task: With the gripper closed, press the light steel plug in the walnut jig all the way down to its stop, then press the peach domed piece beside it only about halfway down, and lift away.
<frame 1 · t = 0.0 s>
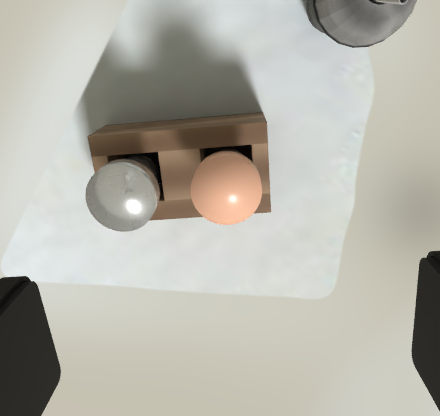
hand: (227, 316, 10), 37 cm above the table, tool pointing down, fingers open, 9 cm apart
peach domed piece: (227, 178, 39), point 8 cm above the table, slide at 0.0 cm
walnut jig: (188, 159, 47), on the table
steel plug: (130, 185, 39), point 8 cm above the table, slide at 0.0 cm
beverage cup: (329, 7, 41), on the table
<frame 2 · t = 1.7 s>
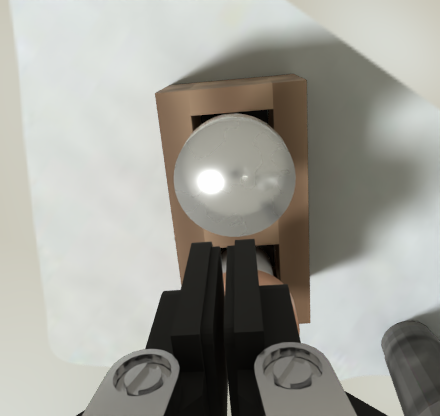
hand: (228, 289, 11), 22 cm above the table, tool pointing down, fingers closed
peach domed piece: (245, 296, 27), point 8 cm above the table, slide at 0.0 cm
walnut jig: (239, 190, 34), on the table
steel plug: (234, 162, 24), point 8 cm above the table, slide at 0.0 cm
beverage cup: (405, 340, 38), on the table
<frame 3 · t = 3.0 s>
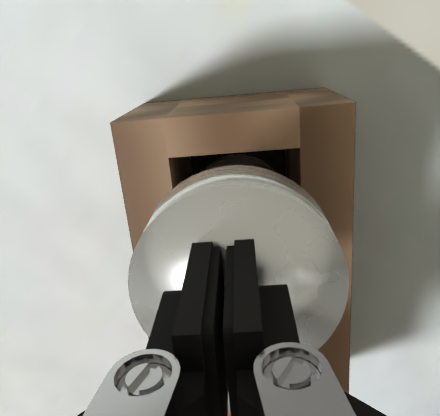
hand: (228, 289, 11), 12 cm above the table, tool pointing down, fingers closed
walnut jig: (244, 248, 24), on the table
steel plug: (238, 234, 15), point 8 cm above the table, slide at 0.3 cm, touching gripper
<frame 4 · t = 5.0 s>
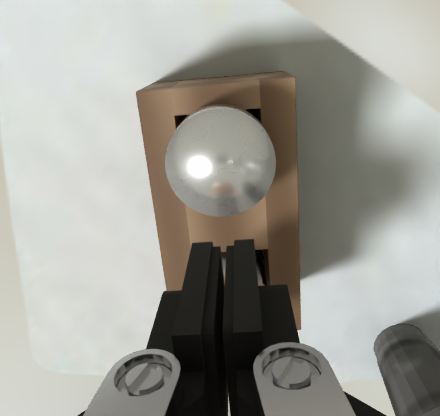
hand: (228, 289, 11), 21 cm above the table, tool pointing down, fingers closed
peach domed piece: (233, 303, 26), point 8 cm above the table, slide at 0.0 cm
walnut jig: (227, 192, 32), on the table
steel plug: (221, 149, 26), point 5 cm above the table, slide at 3.5 cm
beverage cup: (398, 343, 37), on the table
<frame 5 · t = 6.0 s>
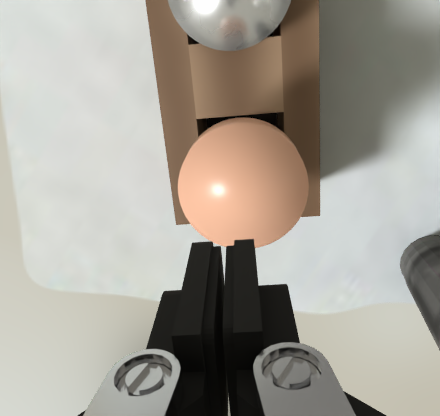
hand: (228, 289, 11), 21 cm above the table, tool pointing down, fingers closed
peach domed piece: (242, 168, 23), point 8 cm above the table, slide at 0.0 cm
walnut jig: (238, 72, 29), on the table
beverage cup: (428, 260, 34), on the table
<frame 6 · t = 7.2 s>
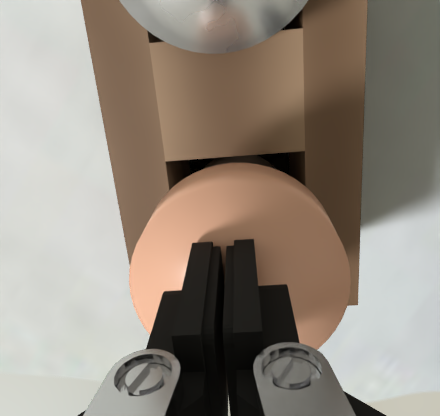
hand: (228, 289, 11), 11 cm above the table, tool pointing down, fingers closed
peach domed piece: (239, 232, 15), point 7 cm above the table, slide at 1.2 cm, touching gripper
walnut jig: (233, 84, 20), on the table
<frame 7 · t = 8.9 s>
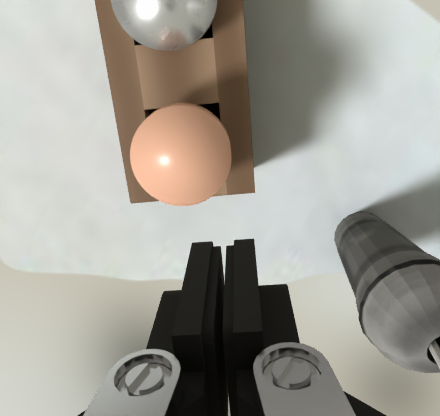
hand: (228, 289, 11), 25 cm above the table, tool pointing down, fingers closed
peach domed piece: (185, 144, 28), point 6 cm above the table, slide at 1.8 cm
walnut jig: (184, 70, 33), on the table
steel plug: (170, 0, 27), point 5 cm above the table, slide at 3.5 cm
beverage cup: (358, 234, 38), on the table
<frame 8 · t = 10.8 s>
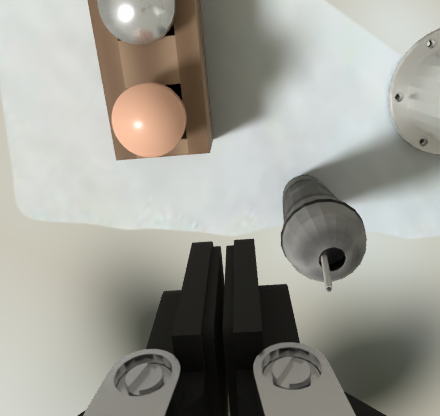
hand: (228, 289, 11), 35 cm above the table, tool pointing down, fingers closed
peach domed piece: (155, 114, 38), point 6 cm above the table, slide at 1.8 cm
walnut jig: (160, 60, 43), on the table
steel plug: (144, 7, 37), point 5 cm above the table, slide at 3.5 cm
beverage cup: (302, 194, 47), on the table
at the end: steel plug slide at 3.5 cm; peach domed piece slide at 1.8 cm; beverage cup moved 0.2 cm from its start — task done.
